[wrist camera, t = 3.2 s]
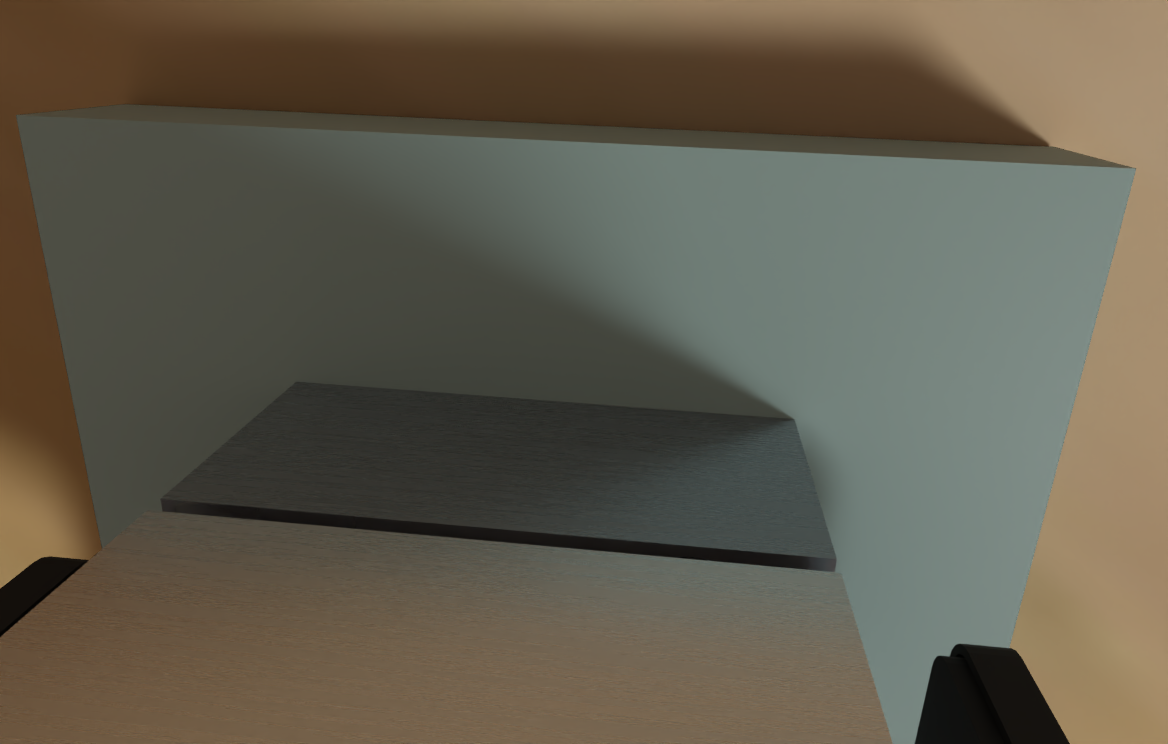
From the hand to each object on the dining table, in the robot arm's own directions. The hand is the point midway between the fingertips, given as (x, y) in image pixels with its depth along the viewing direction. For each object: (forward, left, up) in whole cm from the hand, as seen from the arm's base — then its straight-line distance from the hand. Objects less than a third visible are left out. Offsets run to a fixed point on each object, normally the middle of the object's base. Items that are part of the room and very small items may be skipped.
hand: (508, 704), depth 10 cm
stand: (0, 0, -4) cm, 4 cm away
